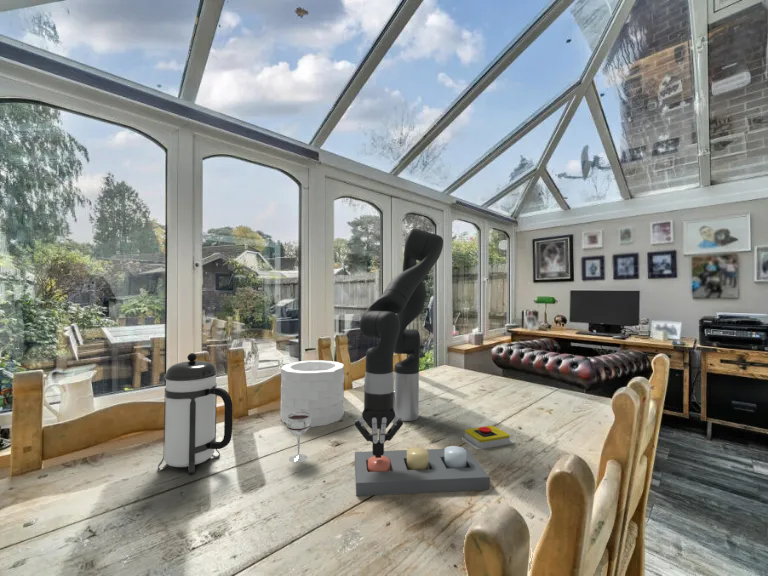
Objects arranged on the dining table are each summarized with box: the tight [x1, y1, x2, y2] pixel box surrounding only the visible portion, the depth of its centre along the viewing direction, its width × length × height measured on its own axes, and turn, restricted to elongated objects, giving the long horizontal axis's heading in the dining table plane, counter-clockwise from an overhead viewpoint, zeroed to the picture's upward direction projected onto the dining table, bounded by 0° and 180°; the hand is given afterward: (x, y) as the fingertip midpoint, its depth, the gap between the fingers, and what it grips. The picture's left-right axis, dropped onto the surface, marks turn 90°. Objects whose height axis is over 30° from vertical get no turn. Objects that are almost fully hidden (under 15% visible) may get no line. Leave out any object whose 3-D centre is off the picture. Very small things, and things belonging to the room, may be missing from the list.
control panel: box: [354, 447, 490, 497], centre depth 91 cm, size 32×16×3 cm, turn 96°
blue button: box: [444, 445, 466, 469], centre depth 92 cm, size 6×6×4 cm
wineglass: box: [286, 412, 311, 463], centre depth 100 cm, size 7×7×12 cm
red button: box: [367, 456, 390, 472], centre depth 90 cm, size 6×6×4 cm
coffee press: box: [157, 353, 234, 476], centre depth 96 cm, size 17×16×30 cm
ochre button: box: [406, 446, 429, 470], centre depth 91 cm, size 6×6×4 cm
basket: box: [280, 359, 345, 428], centre depth 134 cm, size 25×24×19 cm
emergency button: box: [461, 425, 516, 450], centre depth 113 cm, size 9×4×15 cm
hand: (378, 456), depth 90 cm, fingers closed
